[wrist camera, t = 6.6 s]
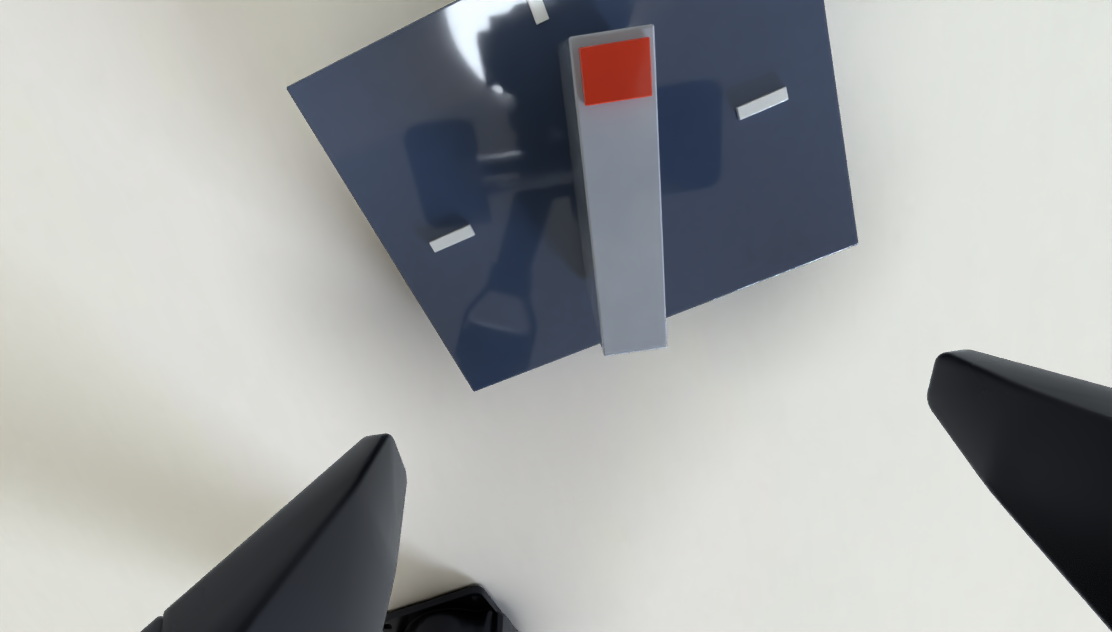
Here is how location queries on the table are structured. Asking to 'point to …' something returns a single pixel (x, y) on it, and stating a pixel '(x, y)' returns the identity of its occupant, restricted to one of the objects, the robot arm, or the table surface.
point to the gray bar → (617, 182)
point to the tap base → (545, 164)
